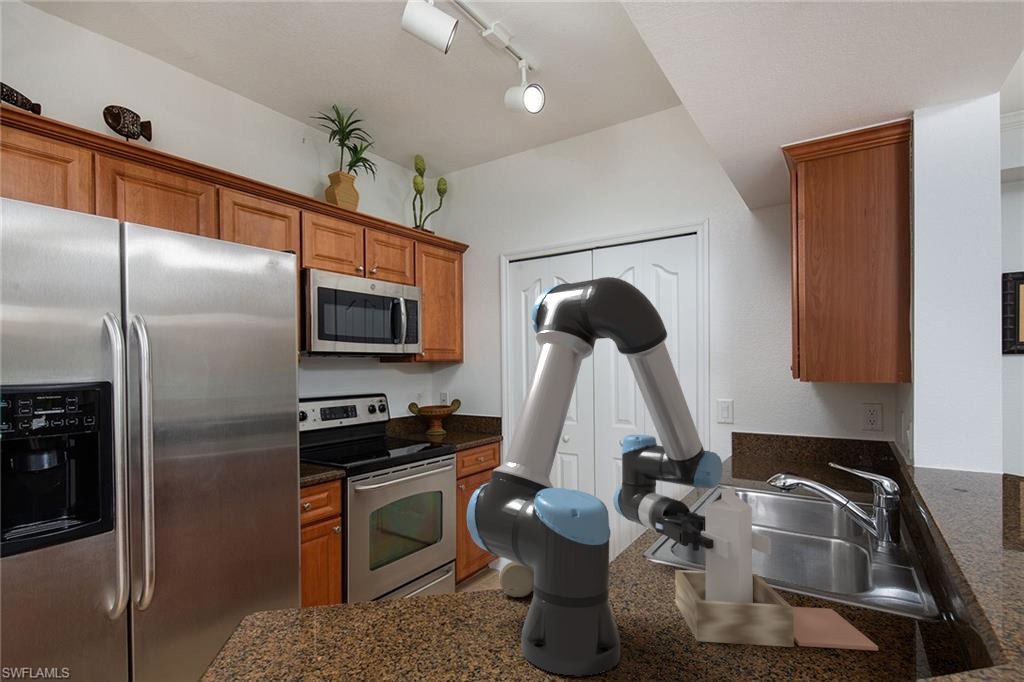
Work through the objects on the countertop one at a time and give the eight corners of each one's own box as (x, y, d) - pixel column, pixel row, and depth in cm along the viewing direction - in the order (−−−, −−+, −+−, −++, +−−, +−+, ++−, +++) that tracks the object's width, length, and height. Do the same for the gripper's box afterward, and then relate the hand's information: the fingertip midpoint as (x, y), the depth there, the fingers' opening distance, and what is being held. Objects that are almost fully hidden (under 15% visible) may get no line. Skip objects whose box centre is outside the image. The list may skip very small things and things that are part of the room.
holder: (697, 641, 84) (696, 602, 84) (675, 602, 99) (675, 569, 99) (794, 647, 82) (793, 607, 83) (757, 607, 97) (756, 573, 98)
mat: (799, 645, 83) (798, 641, 83) (763, 608, 97) (763, 605, 97) (878, 650, 82) (878, 646, 82) (831, 612, 96) (831, 608, 96)
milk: (705, 616, 91) (703, 487, 93) (719, 606, 95) (717, 483, 97) (741, 628, 86) (738, 492, 88) (754, 617, 91) (751, 488, 93)
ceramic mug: (497, 599, 98) (499, 557, 99) (500, 582, 107) (502, 544, 107) (553, 602, 98) (554, 560, 98) (552, 586, 106) (553, 547, 107)
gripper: (705, 530, 112) (796, 565, 91) (622, 537, 105) (699, 577, 83) (705, 494, 112) (795, 521, 91) (622, 499, 105) (699, 529, 84)
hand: (749, 548), depth 87 cm, fingers closed on milk, 8 cm apart
